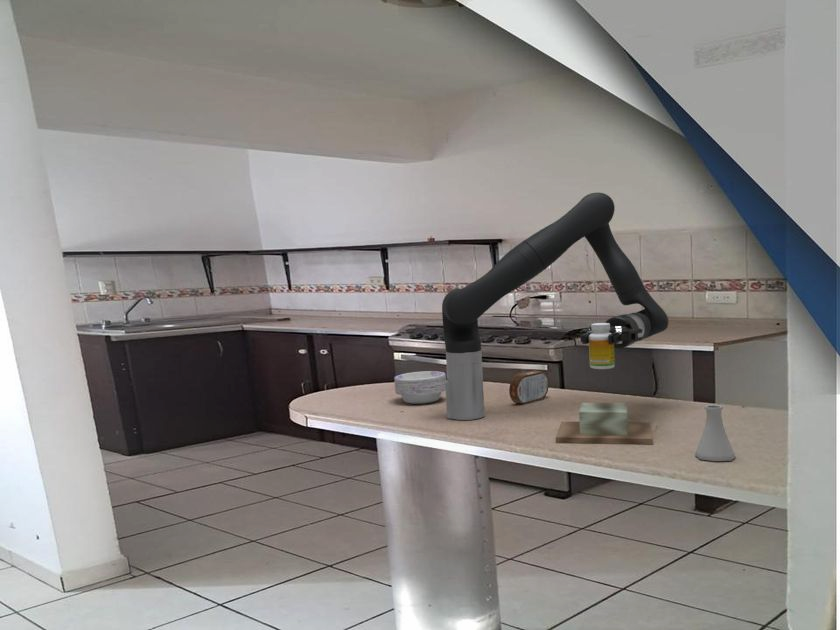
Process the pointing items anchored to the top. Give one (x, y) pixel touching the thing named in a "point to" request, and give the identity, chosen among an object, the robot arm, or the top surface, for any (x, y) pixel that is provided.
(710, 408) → the flask
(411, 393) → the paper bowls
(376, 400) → the top surface
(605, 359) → the supplement bottle
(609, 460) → the top surface
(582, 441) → the pedestal
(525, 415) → the top surface
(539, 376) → the tin
